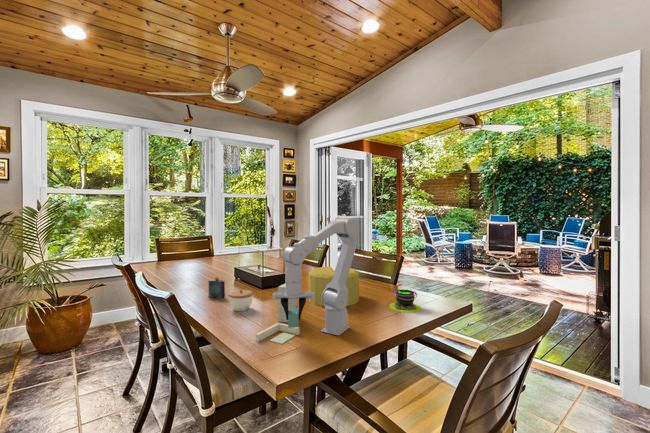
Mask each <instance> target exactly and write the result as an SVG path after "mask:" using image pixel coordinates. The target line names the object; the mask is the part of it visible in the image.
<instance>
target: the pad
mask: <svg viewBox="0 0 650 433" xmlns="http://www.w3.org/2000/svg"><path fill="white" fill-rule="evenodd" d="M294 337H296V335H295V334H291V333H287V332H282V333H279V334H277V335H276V336H274V337H273V338H271V339H269V342H272V343H276V344H281V345H283V344H284V343H286V342H288V341H289V340H292V339H293V338H294Z"/></svg>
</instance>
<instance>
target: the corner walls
mask: <svg viewBox="0 0 650 433" xmlns="http://www.w3.org/2000/svg"><path fill="white" fill-rule="evenodd" d="M278 331H279V332H280V331H281V332H282V333H288V334H292V335H295V336H298V335H300V326H298V327H293V328H288V323H283V322H279V321H278V322H276V323H275V324H272V325H271V326H269V327H267V328H265V329H263V330H261V331H259V332H257V333H255V341H256V342H257V343H258V342H259V343H260V342H261V341H262V340H264V339H266V338H268V337H270V336H272V335H273V334H275V333H277V332H278Z"/></svg>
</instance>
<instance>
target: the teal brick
mask: <svg viewBox="0 0 650 433" xmlns="http://www.w3.org/2000/svg"><path fill="white" fill-rule="evenodd" d="M299 321H300V320H299V308H298V309H289V313H288V323H287V325H288V328H293V327H300V326H299Z"/></svg>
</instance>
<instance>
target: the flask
mask: <svg viewBox="0 0 650 433" xmlns="http://www.w3.org/2000/svg"><path fill="white" fill-rule="evenodd" d="M207 283H208V298H210V297H211V298H212V297H218V298H217V299H225V298H226V290H225V289H226V288H225V280H223V279H219V276H216V277H214V279H209V280H208V282H207ZM224 297H225V298H224Z"/></svg>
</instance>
